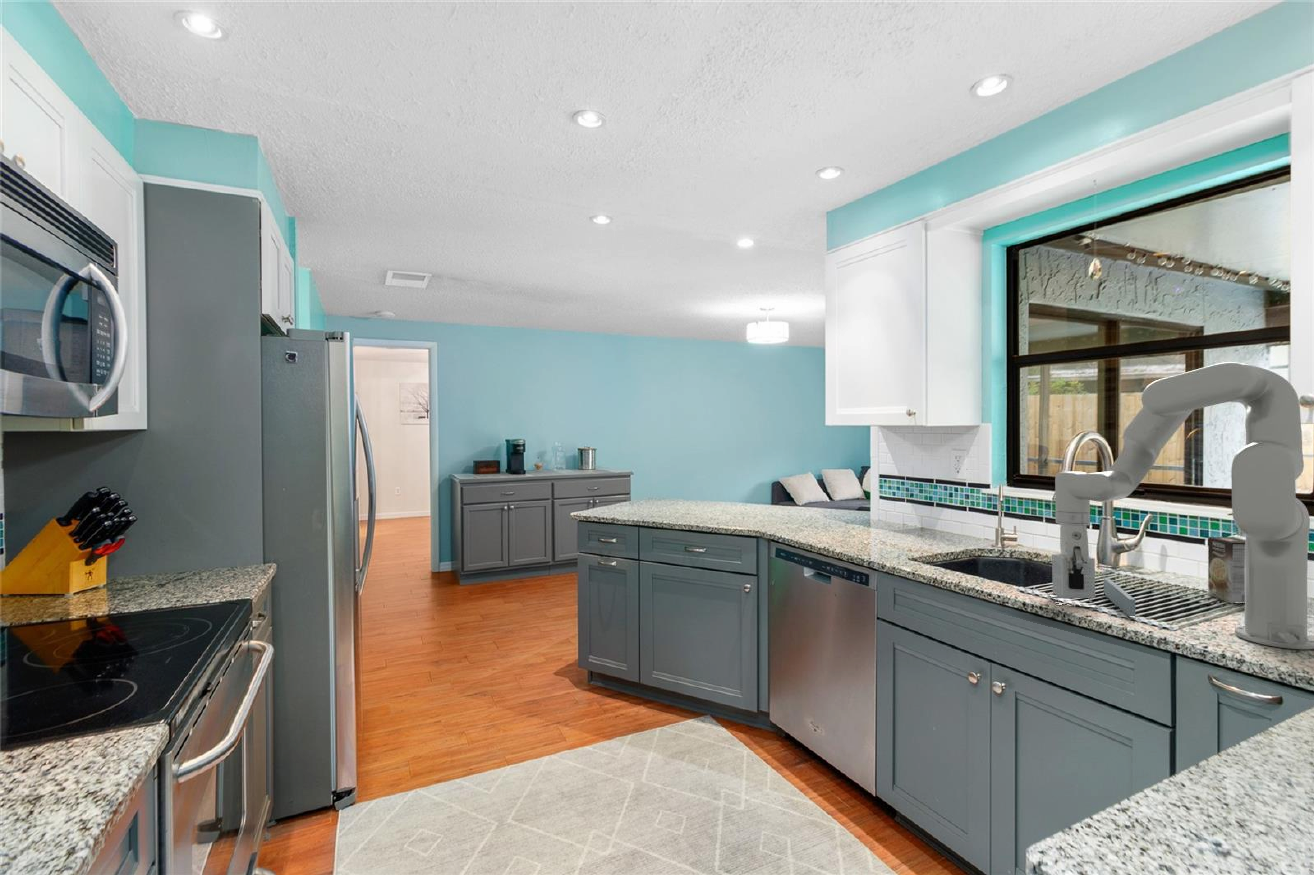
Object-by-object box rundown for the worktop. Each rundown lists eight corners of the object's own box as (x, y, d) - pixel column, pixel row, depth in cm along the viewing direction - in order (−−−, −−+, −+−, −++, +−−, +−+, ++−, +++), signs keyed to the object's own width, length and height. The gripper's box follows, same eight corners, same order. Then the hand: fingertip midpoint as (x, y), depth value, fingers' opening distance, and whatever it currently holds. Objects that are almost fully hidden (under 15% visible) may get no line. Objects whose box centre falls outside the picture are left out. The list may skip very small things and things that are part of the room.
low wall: (1135, 618, 149) (1135, 599, 149) (1129, 617, 149) (1129, 599, 149) (1109, 594, 171) (1108, 578, 171) (1103, 594, 171) (1103, 577, 171)
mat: (1098, 608, 157) (1098, 607, 157) (1056, 605, 161) (1056, 603, 161) (1088, 598, 167) (1088, 597, 167) (1048, 594, 171) (1048, 593, 171)
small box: (1083, 593, 166) (1082, 554, 166) (1096, 598, 161) (1095, 558, 161) (1051, 592, 167) (1051, 553, 167) (1063, 598, 162) (1062, 557, 162)
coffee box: (1206, 594, 170) (1206, 536, 170) (1233, 595, 169) (1233, 536, 169) (1231, 603, 161) (1230, 541, 161) (1259, 604, 160) (1259, 542, 160)
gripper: (1097, 523, 154) (1098, 594, 154) (1082, 514, 170) (1082, 579, 170) (1062, 521, 158) (1062, 592, 158) (1050, 513, 173) (1050, 577, 173)
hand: (1073, 585), depth 164 cm, fingers closed on small box, 6 cm apart
